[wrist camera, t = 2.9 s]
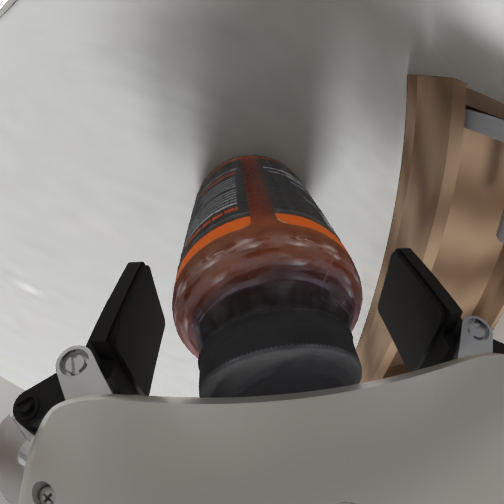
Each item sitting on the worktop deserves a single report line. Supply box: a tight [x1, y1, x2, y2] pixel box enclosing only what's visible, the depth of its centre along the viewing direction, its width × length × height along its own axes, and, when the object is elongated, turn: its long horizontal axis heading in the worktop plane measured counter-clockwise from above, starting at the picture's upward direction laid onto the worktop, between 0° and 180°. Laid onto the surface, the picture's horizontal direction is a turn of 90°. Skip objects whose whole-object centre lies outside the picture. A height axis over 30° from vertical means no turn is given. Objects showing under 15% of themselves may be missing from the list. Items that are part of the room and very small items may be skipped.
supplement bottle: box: [172, 156, 363, 398], centre depth 11 cm, size 6×6×11 cm
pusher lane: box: [356, 75, 504, 383], centre depth 15 cm, size 26×14×9 cm, turn 2°
